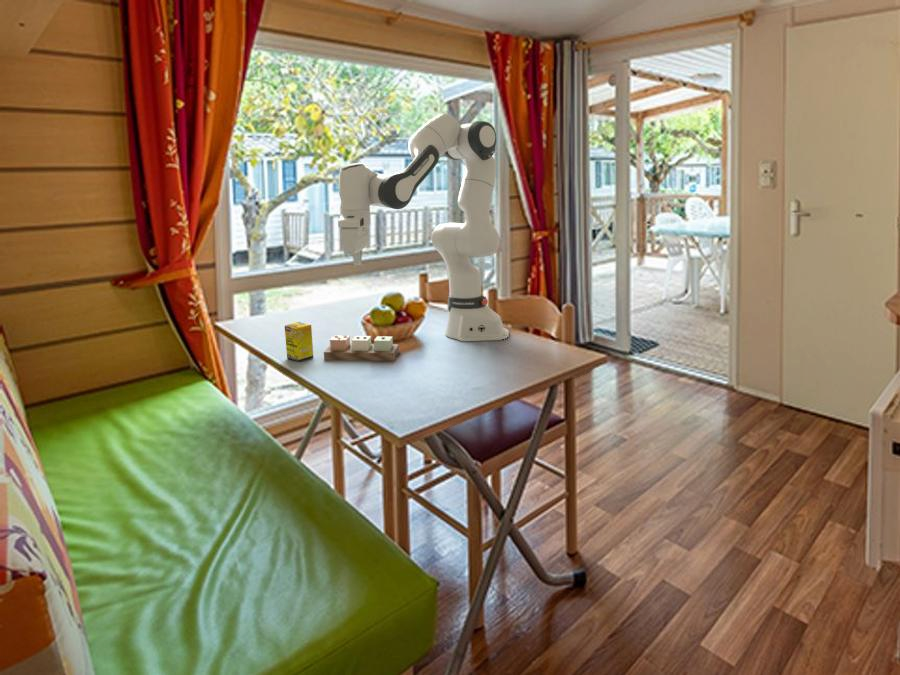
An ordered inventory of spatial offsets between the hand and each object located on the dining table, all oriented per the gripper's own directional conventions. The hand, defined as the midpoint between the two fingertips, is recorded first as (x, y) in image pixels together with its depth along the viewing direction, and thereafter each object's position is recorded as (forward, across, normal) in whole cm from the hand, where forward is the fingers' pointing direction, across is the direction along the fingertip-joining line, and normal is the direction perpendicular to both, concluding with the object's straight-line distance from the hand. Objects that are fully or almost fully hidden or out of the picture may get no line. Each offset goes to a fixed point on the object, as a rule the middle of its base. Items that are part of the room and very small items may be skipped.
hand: (357, 264), depth 192 cm
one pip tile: (+27, 0, +7) cm, 28 cm away
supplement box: (+29, +4, -19) cm, 35 cm away
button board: (+29, 0, 0) cm, 29 cm away
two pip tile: (+27, 0, 0) cm, 27 cm away
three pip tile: (+27, 0, -7) cm, 28 cm away
